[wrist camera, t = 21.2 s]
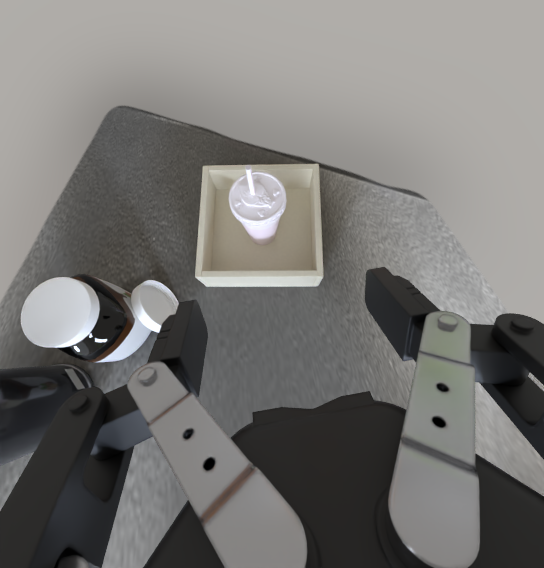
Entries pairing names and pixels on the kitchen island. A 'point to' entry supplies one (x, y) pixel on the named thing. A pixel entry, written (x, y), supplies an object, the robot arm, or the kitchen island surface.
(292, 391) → the kitchen island surface
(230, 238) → the wooden tray
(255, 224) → the smoothie
